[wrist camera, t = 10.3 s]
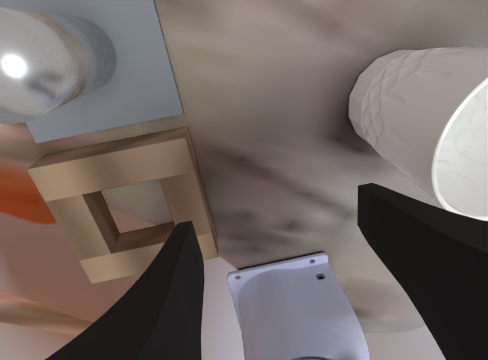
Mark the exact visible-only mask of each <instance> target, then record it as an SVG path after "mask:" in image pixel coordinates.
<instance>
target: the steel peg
mask: <svg viewBox="0 0 488 360" xmlns="http://www.w3.org/2000/svg"><path fill="white" fill-rule="evenodd" d="M115 68H116V53H115V49H114V46H113V44H112V42H111V40H110V39H109V37H108V36H107V34H106V33H105V32H104V31H103V30H102V29H101V28H100V27H99V26H98V25H96V24H95V23H93V22H91V21H89V20H87V19H84V18H81V17H76V16H68V15H60V14H52V13H44V12H36V11H28V10H21V9H13V8H5V7H0V122H2V123H23V122H28V121H31V120H33V119H35V118H38V117H40V116H42V115H44V114H46V113H48V112H50V111H52V110H54V109H56V108H58V107H60V106H62V105H64V104H66V103H68V102H70V101H72V100H74V99H76V98H78V97H80V96H82V95H84V94H86V93H88V92H90V91H92V90H94V89H96V88H99V87H101V86H102V85H104V84H106V83H107V82H108V81H109V80H110V79H111V77H112V76H113V74H114V72H115Z"/></svg>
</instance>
